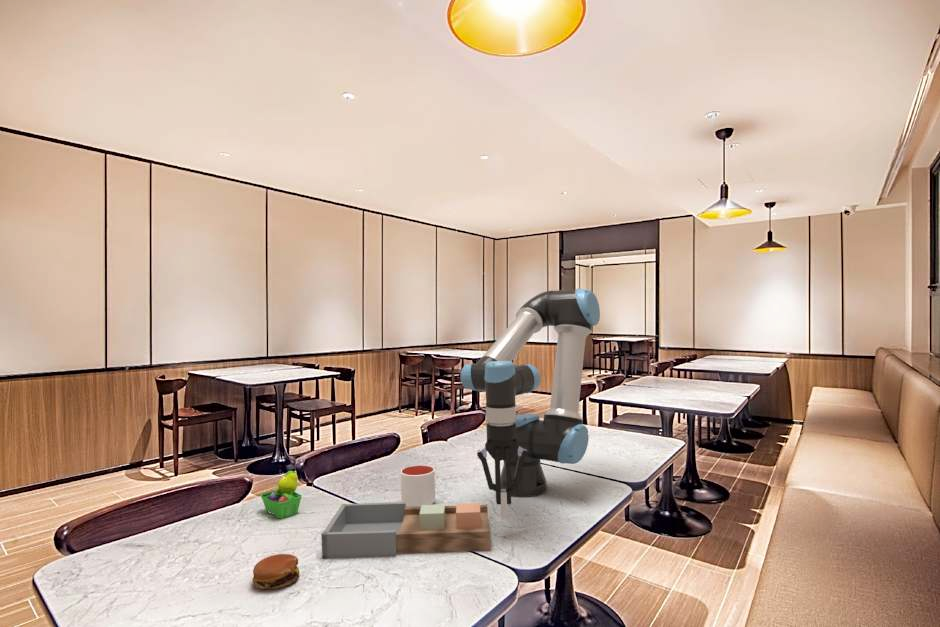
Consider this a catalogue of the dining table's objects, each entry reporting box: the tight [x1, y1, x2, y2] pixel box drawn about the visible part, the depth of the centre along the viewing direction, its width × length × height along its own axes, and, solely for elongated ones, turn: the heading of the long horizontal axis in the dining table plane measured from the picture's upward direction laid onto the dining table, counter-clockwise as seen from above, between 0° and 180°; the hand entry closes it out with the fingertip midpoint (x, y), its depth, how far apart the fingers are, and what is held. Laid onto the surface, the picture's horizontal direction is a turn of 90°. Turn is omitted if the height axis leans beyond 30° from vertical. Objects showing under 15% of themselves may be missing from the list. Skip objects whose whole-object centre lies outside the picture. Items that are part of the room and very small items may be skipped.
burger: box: [252, 553, 300, 590], centre depth 109 cm, size 10×9×5 cm
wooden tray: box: [396, 504, 491, 555], centre depth 128 cm, size 22×17×4 cm
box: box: [321, 501, 406, 559], centre depth 128 cm, size 17×19×6 cm
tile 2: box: [455, 502, 481, 529], centre depth 128 cm, size 6×6×4 cm
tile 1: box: [419, 503, 446, 530], centre depth 128 cm, size 6×6×4 cm
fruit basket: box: [260, 470, 303, 519], centre depth 148 cm, size 11×9×11 cm
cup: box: [400, 464, 436, 507], centre depth 151 cm, size 10×10×10 cm
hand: (504, 516), depth 128 cm, fingers closed
